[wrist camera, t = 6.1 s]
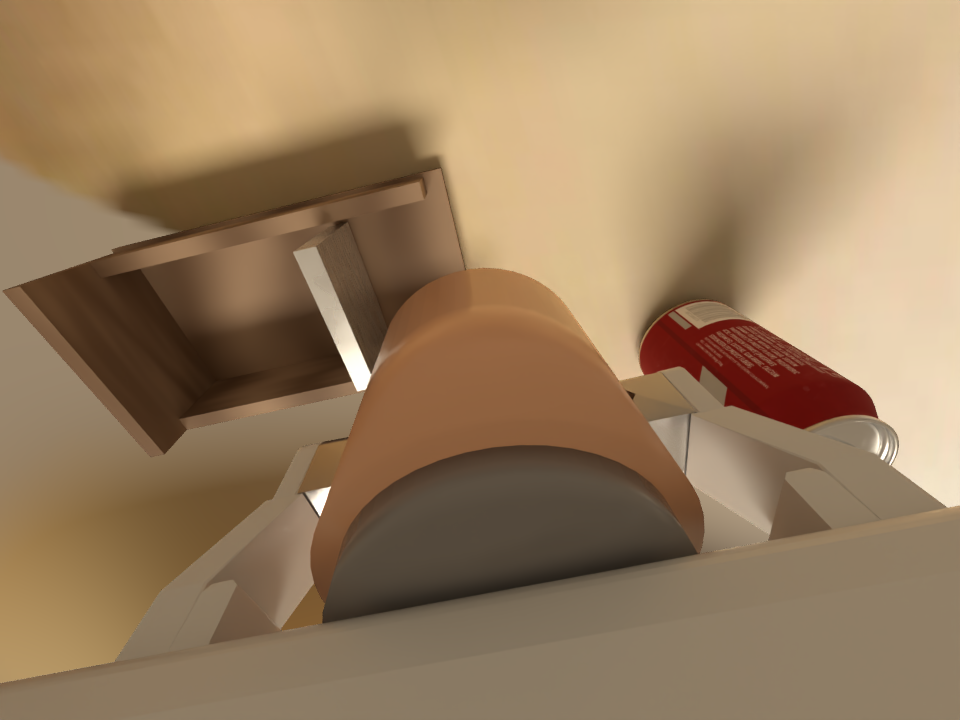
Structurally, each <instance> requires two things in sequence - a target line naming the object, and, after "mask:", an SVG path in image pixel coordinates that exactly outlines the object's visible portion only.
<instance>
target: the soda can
mask: <svg viewBox="0 0 960 720" xmlns="http://www.w3.org/2000/svg"><path fill="white" fill-rule="evenodd" d="M639 364H640V368H641V370H642V372H643V374H644V375H648V374H653V373H657V372H658V371H663V370H667V369H671V368H675V367H682V368H684V369H685V370H686V371H687V372H689V373H690V374H691V375H692V376H693V377H694V378H695V379H696V380H697V381H698V382H699V383H700V384H701V385H702V386H703V387H704V388H705V389H706V390H707V391H708V392H709V393H710V394H711V395H712V396H713V397H715V398H716V399H717V400H718V401H719V402H720V403H721V404H722V405H723V406H724V407H727V406H734V407H737V408H740V409H743V410H746V411H749V412H752V413H755V414H758V415H761V416H764V417H767V418H770V419H773V420H776V421H779V422H782V423H785V424H788V425H791V426H794V427H797V428H800V429H803V430H806V431H809V432H811V433H814V434H817V435H820V436H823V437H826V438H829V439H832V440H835V441H838V442H841V443H844V444H847V445H850V446H853V447H856V448H859V449H862V450H865V451H868V452H871V453H874V454H876V455H877V456H879V457H880V458H881V459H883V460H884V461H885V462H887V463H888V464H889V465H892V463H893V462H894V460H895V458H896V455H897V452H898V448H899V440H898V436H897V434H896V432H895V431H894V430H893V429H892V427H890V426H889V425H888V424H886V423H885V422H883V421H881V420H879V419H878V416H877V412H876V409H875V406H874V403H873V401H872V399H871V398H870V396H869V395H868V394H867V393H866V391H865V390H863V389H862V388H861V387H859V386H858V385H856V384H855V383H853V382H851V381H850V380H848V379H846V378H845V377H843V376H841V375H840V374H838V373H837V372H835V371H833V370H832V369H830V368H828V367H827V366H825V365H823V364H822V363H820V362H819V361H817V360H815V359H814V358H812V357H810V356H809V355H807V354H805V353H804V352H802V351H801V350H799V349H797V348H796V347H794V346H792V345H791V344H789V343H787V342H786V341H784V340H783V339H781V338H779V337H778V336H776V335H774V334H773V333H771V332H769V331H768V330H766V329H765V328H763V327H761V326H760V325H758V324H756V323H755V322H753V321H751V320H750V319H748V318H747V317H745V316H743V315H742V314H740V313H738V312H737V311H735V310H734V309H732V308H730V307H729V306H727V305H725V304H723V303H721V302H719V301H715V300H709V299H697V300H692V301H687V302H684V303H681V304H679V305H677V306H675V307H673V308H671V309H669V310H668V311H666V312H665V313H663V314H662V315H661V316H660V317H659V318H657V319H656V320H655V321H654V323H653V324H652V325H651V326H650V327H649V329H648V330H647V332H646V333H645V335H644V337H643V339H642V342H641V344H640V348H639Z"/></svg>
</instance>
